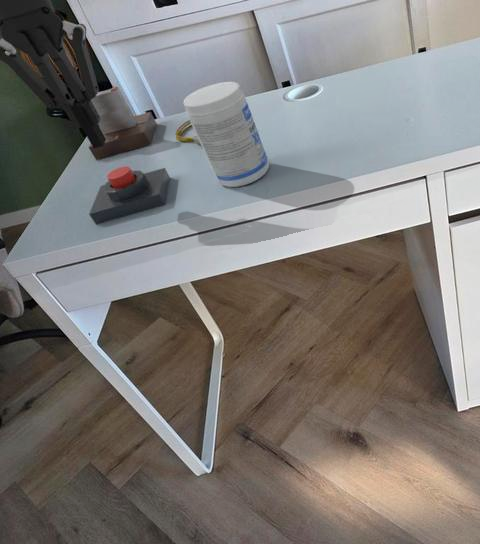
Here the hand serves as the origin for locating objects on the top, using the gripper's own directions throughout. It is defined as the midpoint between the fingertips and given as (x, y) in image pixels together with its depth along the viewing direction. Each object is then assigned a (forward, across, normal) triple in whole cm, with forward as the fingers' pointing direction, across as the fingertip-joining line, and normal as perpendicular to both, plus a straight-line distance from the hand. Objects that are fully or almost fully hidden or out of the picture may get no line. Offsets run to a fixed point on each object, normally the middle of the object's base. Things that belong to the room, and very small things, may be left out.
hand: (100, 143), depth 79 cm
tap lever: (+8, -6, +30) cm, 32 cm away
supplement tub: (+11, +20, -2) cm, 23 cm away
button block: (+11, 0, 0) cm, 11 cm away
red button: (+8, 0, 0) cm, 8 cm away
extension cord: (+11, +12, +22) cm, 28 cm away
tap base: (+11, -6, +30) cm, 33 cm away
